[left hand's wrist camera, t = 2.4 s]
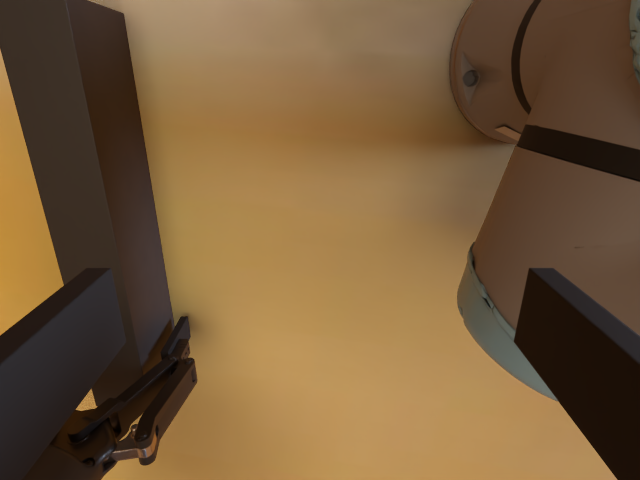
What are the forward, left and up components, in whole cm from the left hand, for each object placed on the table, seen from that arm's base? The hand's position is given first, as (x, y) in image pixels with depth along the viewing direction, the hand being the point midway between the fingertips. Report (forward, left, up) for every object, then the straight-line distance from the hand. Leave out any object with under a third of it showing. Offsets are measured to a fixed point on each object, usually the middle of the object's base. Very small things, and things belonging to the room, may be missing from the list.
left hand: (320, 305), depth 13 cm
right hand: (+27, -7, -28) cm, 39 cm away
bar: (+14, -14, -29) cm, 36 cm away
